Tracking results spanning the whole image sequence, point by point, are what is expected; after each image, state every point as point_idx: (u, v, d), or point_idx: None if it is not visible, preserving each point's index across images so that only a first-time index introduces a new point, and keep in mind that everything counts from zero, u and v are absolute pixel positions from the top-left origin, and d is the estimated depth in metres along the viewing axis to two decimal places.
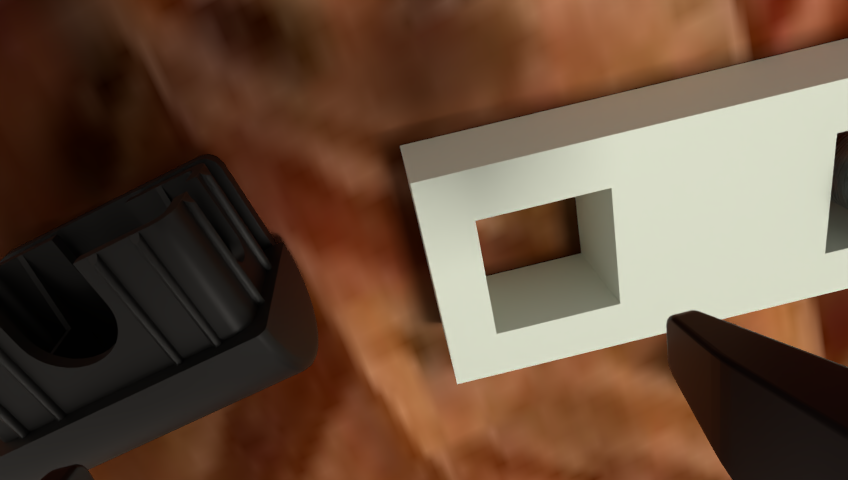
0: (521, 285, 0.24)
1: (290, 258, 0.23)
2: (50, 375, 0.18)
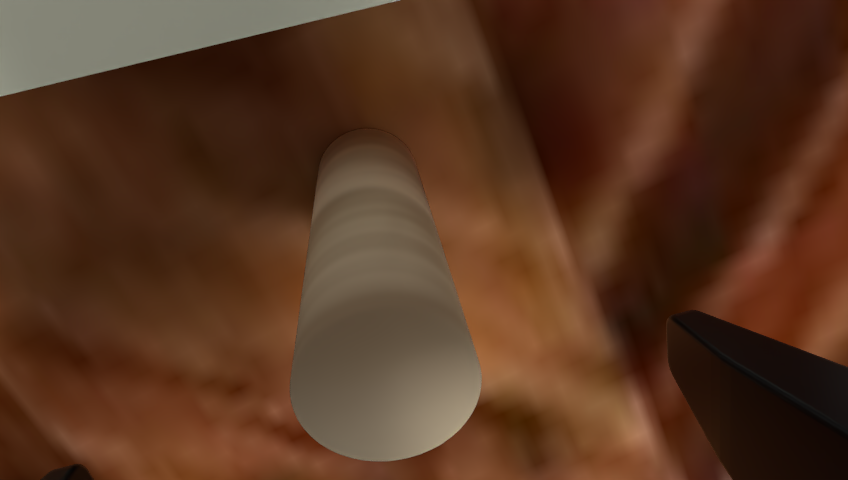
0: None
1: None
2: None
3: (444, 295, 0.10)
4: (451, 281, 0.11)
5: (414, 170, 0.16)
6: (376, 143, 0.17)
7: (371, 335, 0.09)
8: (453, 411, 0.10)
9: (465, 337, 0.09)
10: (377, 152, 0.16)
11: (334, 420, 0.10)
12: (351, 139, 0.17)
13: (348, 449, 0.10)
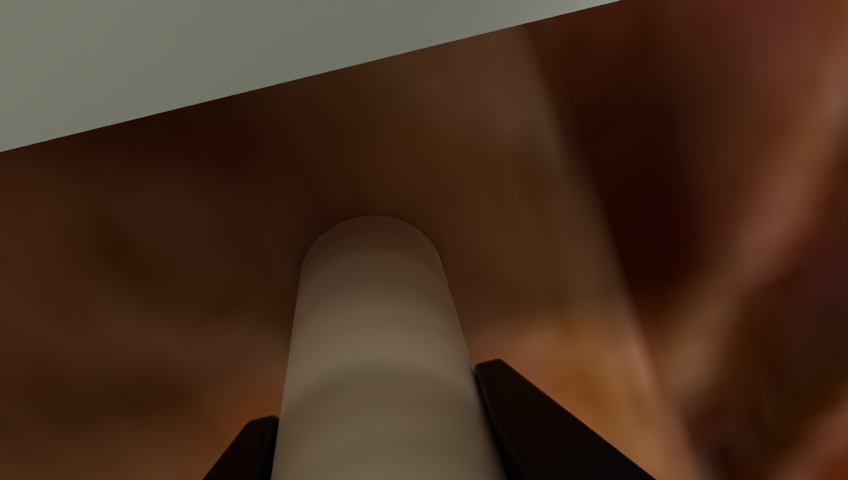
0: None
1: None
2: None
3: None
4: None
5: (445, 291, 0.11)
6: (385, 249, 0.11)
7: None
8: None
9: None
10: (388, 270, 0.10)
11: None
12: (348, 237, 0.11)
13: None
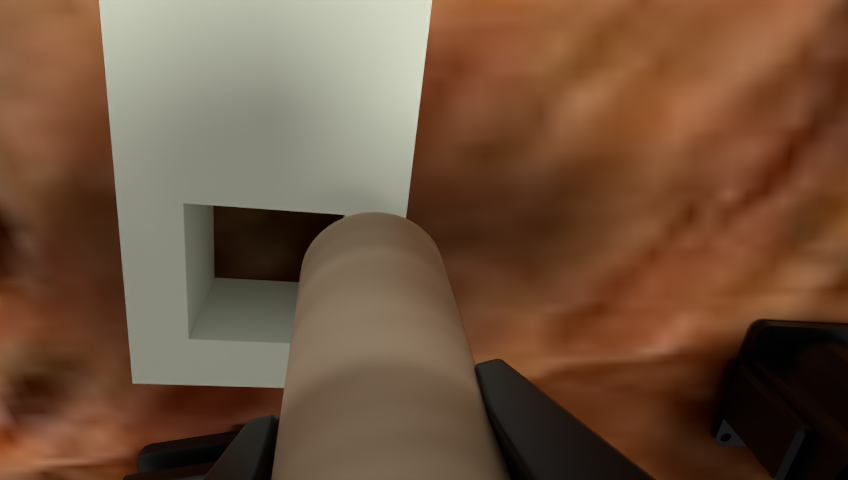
0: None
1: None
2: None
3: None
4: None
5: (445, 287, 0.11)
6: (386, 245, 0.11)
7: None
8: None
9: None
10: (388, 266, 0.10)
11: None
12: (348, 234, 0.11)
13: None
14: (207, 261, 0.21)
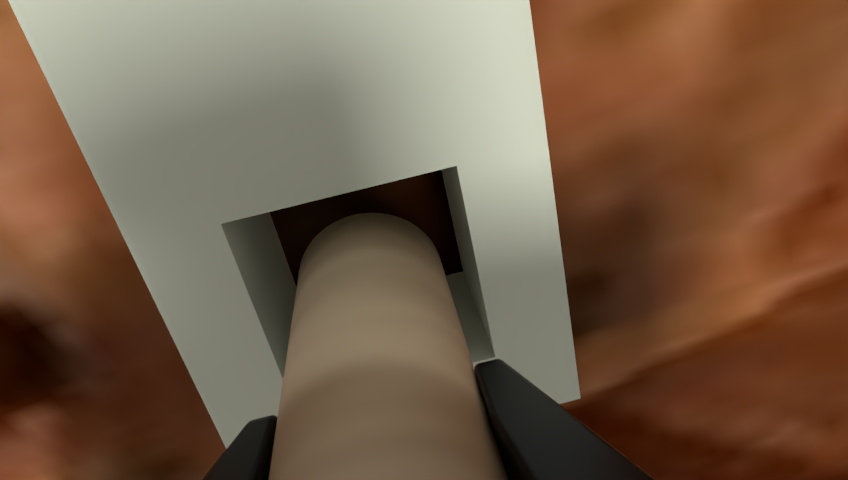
0: (460, 241, 0.15)
1: None
2: None
3: None
4: None
5: (444, 288, 0.11)
6: (384, 246, 0.11)
7: None
8: None
9: None
10: (386, 267, 0.10)
11: None
12: (347, 235, 0.11)
13: None
14: (287, 293, 0.15)
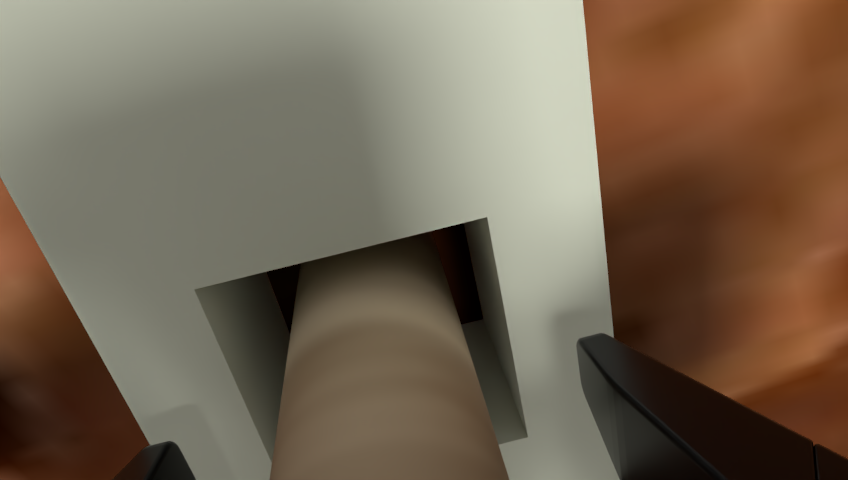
0: (483, 291, 0.13)
1: None
2: None
3: None
4: None
5: (436, 263, 0.12)
6: None
7: None
8: None
9: None
10: None
11: None
12: None
13: None
14: (281, 351, 0.13)
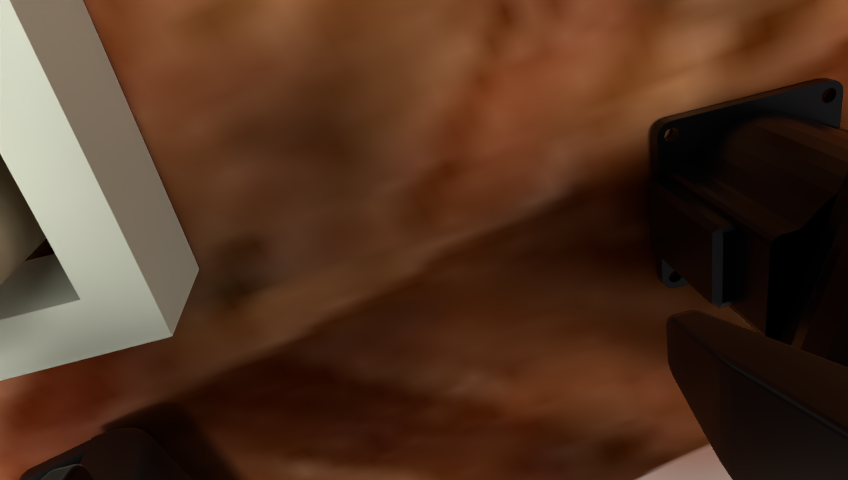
0: None
1: (102, 437, 0.21)
2: None
3: None
4: None
5: None
6: None
7: None
8: None
9: None
10: None
11: None
12: None
13: None
14: None
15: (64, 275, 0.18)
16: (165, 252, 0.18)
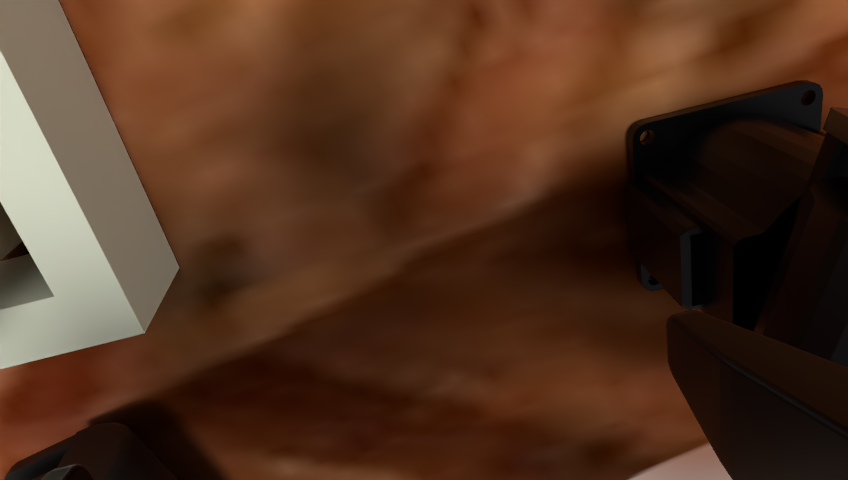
0: None
1: (86, 432, 0.22)
2: None
3: None
4: None
5: None
6: None
7: None
8: None
9: None
10: None
11: None
12: None
13: None
14: None
15: None
16: (141, 251, 0.18)
